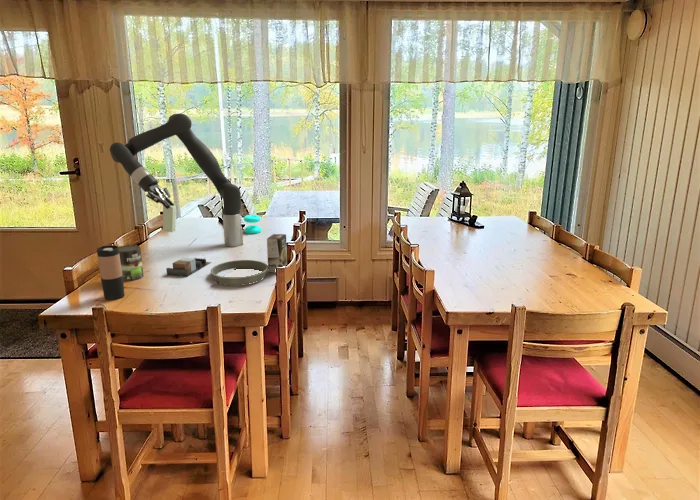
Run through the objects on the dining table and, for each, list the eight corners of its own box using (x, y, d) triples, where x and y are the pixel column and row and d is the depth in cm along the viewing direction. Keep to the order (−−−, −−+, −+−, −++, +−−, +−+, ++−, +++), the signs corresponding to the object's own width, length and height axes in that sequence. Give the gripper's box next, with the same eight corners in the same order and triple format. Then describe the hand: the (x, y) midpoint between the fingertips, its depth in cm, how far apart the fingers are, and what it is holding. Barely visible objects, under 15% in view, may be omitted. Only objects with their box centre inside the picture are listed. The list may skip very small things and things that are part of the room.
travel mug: (108, 293, 191) (101, 245, 185) (128, 293, 191) (121, 245, 186) (100, 300, 183) (92, 251, 178) (121, 300, 184) (114, 250, 178)
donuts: (245, 214, 289) (262, 214, 288) (246, 230, 291) (262, 230, 291) (241, 217, 279) (258, 217, 279) (242, 234, 282) (259, 234, 282)
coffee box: (281, 273, 214) (279, 239, 210) (267, 272, 216) (266, 238, 211) (287, 267, 223) (286, 234, 218) (274, 266, 224) (273, 233, 220)
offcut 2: (184, 267, 219) (183, 257, 217) (196, 268, 217) (195, 258, 216) (179, 270, 215) (178, 260, 213) (191, 271, 213) (190, 261, 212)
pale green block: (165, 229, 224) (166, 204, 220) (175, 231, 223) (176, 206, 220) (162, 230, 222) (163, 205, 218) (172, 232, 221) (172, 207, 217)
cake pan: (208, 272, 217) (208, 262, 215) (262, 266, 225) (262, 257, 224) (214, 290, 195) (213, 280, 193) (273, 283, 203) (273, 273, 202)
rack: (192, 262, 229) (192, 254, 228) (211, 264, 227) (211, 256, 226) (167, 277, 209) (166, 268, 208) (187, 278, 207) (186, 270, 206)
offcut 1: (178, 271, 214) (177, 260, 213) (190, 272, 213) (189, 261, 212) (173, 273, 211) (172, 263, 209) (185, 275, 209) (184, 264, 208)
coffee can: (149, 278, 208) (145, 247, 204) (127, 285, 200) (123, 253, 196) (134, 274, 213) (130, 243, 209) (113, 280, 205) (108, 249, 201)
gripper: (139, 175, 210) (166, 204, 211) (158, 171, 223) (184, 198, 224) (130, 187, 213) (157, 215, 214) (149, 182, 226) (175, 209, 227)
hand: (170, 206), depth 219 cm, fingers closed on pale green block, 2 cm apart
